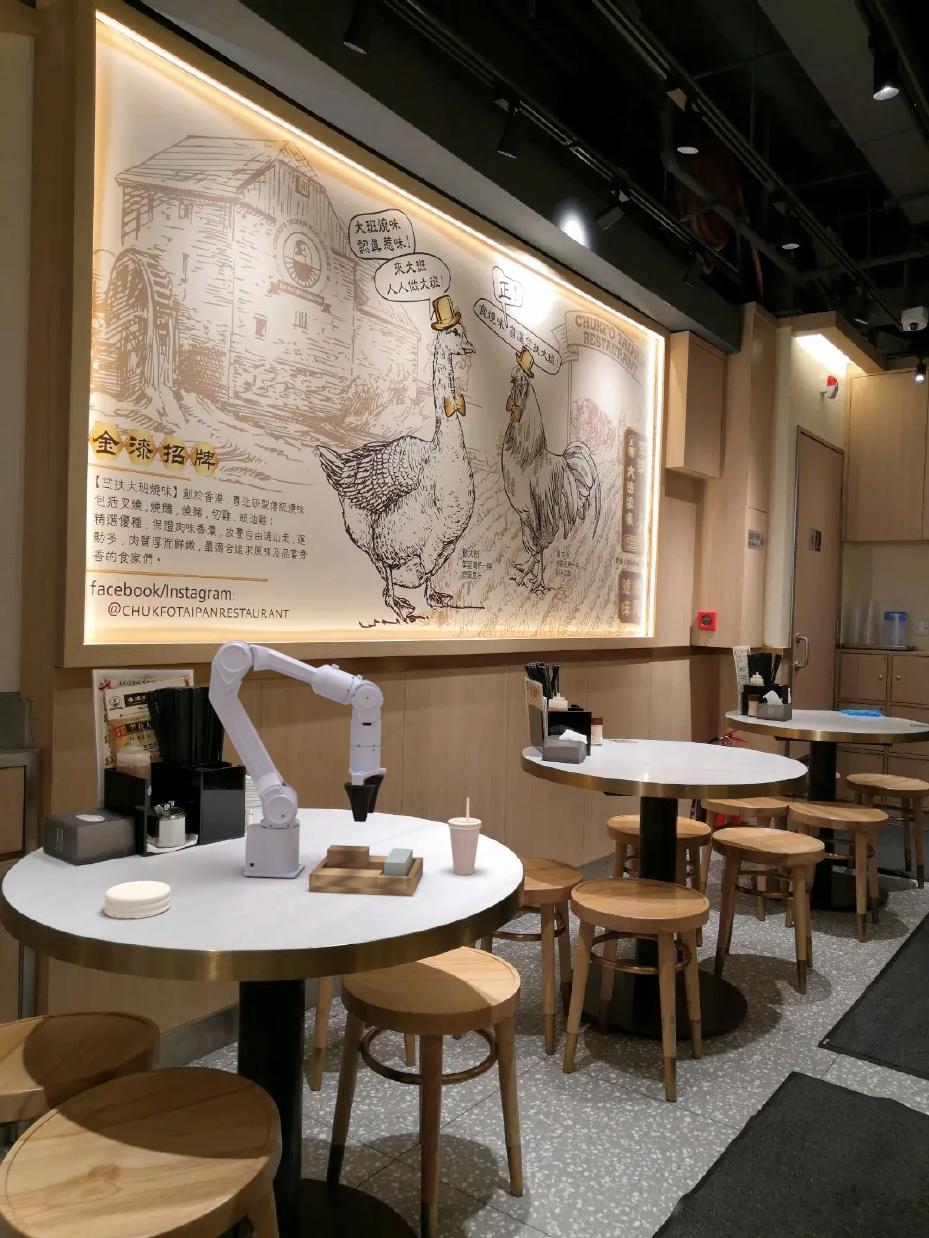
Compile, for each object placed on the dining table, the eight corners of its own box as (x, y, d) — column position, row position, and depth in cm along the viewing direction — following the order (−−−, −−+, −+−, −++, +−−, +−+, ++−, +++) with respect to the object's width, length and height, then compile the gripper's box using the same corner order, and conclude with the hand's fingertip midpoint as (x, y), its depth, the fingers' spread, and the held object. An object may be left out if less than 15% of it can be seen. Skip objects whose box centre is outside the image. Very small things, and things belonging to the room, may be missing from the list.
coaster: (100, 905, 144) (101, 884, 144) (164, 897, 148) (164, 876, 148) (108, 924, 135) (108, 901, 135) (176, 915, 140) (176, 892, 140)
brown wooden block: (326, 877, 158) (327, 849, 158) (330, 872, 161) (331, 844, 161) (365, 879, 157) (365, 850, 157) (368, 873, 161) (369, 846, 161)
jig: (308, 891, 153) (309, 874, 153) (327, 869, 167) (328, 853, 167) (412, 895, 151) (412, 878, 151) (422, 873, 165) (423, 857, 165)
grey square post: (383, 885, 154) (384, 862, 154) (393, 869, 164) (393, 848, 164) (404, 886, 153) (404, 862, 153) (412, 870, 163) (412, 848, 163)
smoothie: (477, 878, 163) (478, 801, 163) (443, 875, 164) (444, 799, 164) (483, 869, 169) (484, 795, 169) (450, 866, 170) (452, 793, 170)
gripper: (379, 750, 160) (378, 826, 160) (392, 740, 174) (391, 809, 174) (341, 749, 160) (339, 824, 160) (357, 739, 175) (355, 808, 175)
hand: (364, 817), depth 167 cm, fingers open, 7 cm apart
